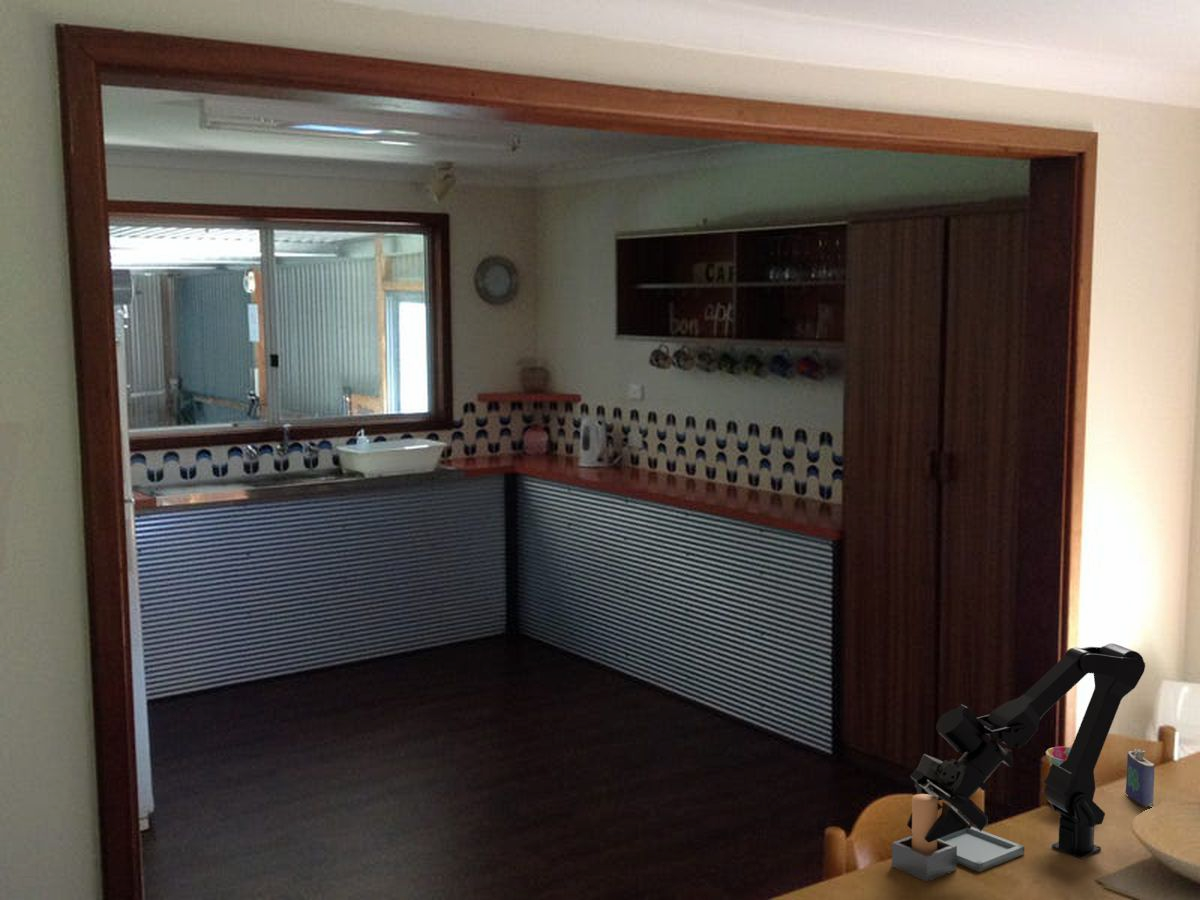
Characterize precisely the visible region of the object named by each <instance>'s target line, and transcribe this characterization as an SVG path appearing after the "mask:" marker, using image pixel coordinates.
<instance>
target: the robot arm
mask: <svg viewBox="0 0 1200 900" xmlns="http://www.w3.org/2000/svg"><path fill="white" fill-rule="evenodd" d="M1145 670H1146V662H1145V661H1144V657H1143V656H1142V655H1141V654H1140V653H1139V652H1138V651H1135V650H1132V649H1130V648H1127V647H1124V646H1122V645H1119V644H1116V643H1107V644H1105V645H1104V646H1103V645H1102V646H1099V647H1098V646H1087V647H1077V646H1076V647H1072V648H1068V649H1067V650H1066V652H1065V653H1064V656H1063V657H1062V658H1060V660H1059V661H1057V662H1056V663H1055V664H1054V665H1053V667H1051V668H1050V669H1049V670H1048V671H1047V672H1046V673H1045V674H1044V675H1043V676H1041V677H1040V678H1039V679H1038V680H1037V681H1036V682H1035V683H1034V684H1033V685H1032V686H1031V687H1030V688H1029V689H1028V690H1027V691H1026V692H1025V693H1024V694H1022V695H1021V696H1018V698H1014V699H1011V700H1009V701H1006V702H1004V703H1003V704H1001V705H999V706H998V707H996V708H995V709H994V710H992V711H991V712H990V713H989V714H986V715H982V716H978V717H976V715H974V714H973V712H972V711H971V709H970V708H969V707H967V706H966V705H963V704H960V705H959V706H958V707H957V708H952V709H950V710H949V711H946V712H945V713H943V714H941V716H940V717H939V718H938V720H937V722H936V725H935V726H936V727H935V729H936V731H937V733H938V734H939V735H940V736H941V737H942V738H944V739H943V740H946V742H948V744H949V745H950V746H951V747H952V748H953V749H954V750H955V751H956V752H958V753H961V754H963V753H964V754H963V755H962V756H961V757H960V758H959V759H958V760H957V759H955V757H954V758H951V759H950V760H949V761H948V760H946V759H945V760H943V761H942V760H940V759H938V758H936V757H933V756H930V755H928V754H926V753H923V755H922V756H921V759H920V761H919V764H918V766H917V768H915V769H914V771H912V772H911V774H910V775H909V778H911V779H912V780H913V781H914V786H915V788H916V795H917V794H929V795H933V796H935V797H937V798H938V811H939V810H940V811H941V814H940V815H939V816H938V819H937V821H936V822H935V823H934V825H933V826H932V827H931V829H930V830H929V831H928V833H927V835H926V836H925V840H926V841H927V842H932V841H934V840H937V839H939V838H941V837H944V836H946V835H949V834H951V833H954V832H957V831H960V830H963V829H966V828H968V829H970V828H971V827H974V828H977V829H978V830H979V831H984V829H985V828H986V826H987V825H988V824H989V823H988V822H989V818H988V817H989V816H988V815H987V814H986V813H985V812H984V811H983V810H982V809H981V808H980V807H979V806H978V805H977V804H976V803H975V802H974V801H973V800H971V798H972V797H973V796H974V795H975V794H977V791H979V789H980V790H982V791H983V792H984V791H985V790H987V787H988V785H986V783H985V782H986V781H987V780H988V779H989V778H990V777H991V775H992V774H993V773H994V772H995V770H997V768H998V767H999V766H1000V765H1001V764H1002V763H1003V764H1005V765H1006V766H1008V767H1010V768H1012V767H1013V766H1014V760H1013V751H1012V750H1010V749H1009V748H1006V747H1004V748H1003V747H1002V746H1001V745H1000V744H999V743H998V742H1000V743H1003V744H1005V746H1008V747H1010V748H1013V749H1015V748H1016V749H1021V748H1022V747H1023V746H1025V745H1027V744H1028V743H1029V741H1030V740H1031V738H1032V737H1033V736H1034V735H1035V734H1036V733H1037V731H1038V729H1039V726H1040V723H1041V722H1040V721H1041V719H1042V718H1043V716H1044V715H1045V714H1046V713H1047V712H1048V711H1049V710H1050V709H1051V708H1052V707H1053V706H1054V705H1055V704H1057V702H1059V701H1060V700H1061V699H1062V698H1063V697H1064V696H1065V695H1066V694H1067V693H1068V692H1069V691H1071V689H1073V688H1074V687H1075V686H1076V684H1078V683H1079V682H1080V681H1081V680H1082V679H1083V678H1085V677H1086V675H1087V674H1093V679H1094V688H1093V689H1094V690H1093V691H1092V694H1091V697H1090V700H1089V701H1088V705H1087V707H1086V710H1085V712H1084V715H1083V717H1082V720H1081V723H1080V726H1079V727H1078V729H1077V733H1076V736H1075V737H1074V740H1073V743H1072V745H1071V747H1072V748H1071V750H1070V753H1069V755H1068V758H1067V759H1066V760H1065V761H1064V762H1063V763H1062V764H1060V765H1059V766H1057V765H1056V764H1052V765H1051V766H1050V767H1049V770H1048V771H1049V772H1048V774H1047V776H1046V779H1044V781H1043V784H1044V785H1045V786H1044V794H1045V797H1046V799H1048V800H1047V801H1048V803H1050V805H1051V808H1052V811H1054V812H1057V813H1058V814H1060V817H1059V826H1058V841H1057V842H1055V843H1053V844H1051V848H1052V849H1055V850H1057V851H1060V852H1062V853H1065V854H1068V855H1070V856H1073V857H1077V858H1079V859H1083V858H1085V857H1086V858H1087V857H1088V856H1091V855H1093V854H1096V853H1098V852H1100V851H1101V850H1102V847H1100V846H1099V845H1096V844H1094V843H1095V827H1096V826H1097V825H1102V824H1103V821H1104V819H1105V815H1106V813H1105V811H1103V810H1102V809H1101V807H1099V806H1098V804H1097V803H1095V802H1094V798H1095V793H1096V780H1095V768H1096V765H1097V763H1098V761H1099V758H1100V755H1101V753H1102V750H1103V748H1104V745H1105V743H1106V740H1107V737H1108V735H1109V732H1110V730H1111V728H1112V725H1113V723H1114V720H1115V718H1116V715H1117V713H1118V710H1119V706H1120V704H1121V701H1122V700H1123V698H1124V697H1126V696H1127V695H1128V694H1129V693H1130V692H1132V691H1133V690H1134V689H1135V688H1136V687H1137V685H1138V684H1139V682H1140V680H1141V678H1142V676H1143V675H1144V673H1145ZM986 736H987V737H989V738H991V739H987V738H986ZM942 800H943V801H942ZM939 801H942V804H940V803H939ZM944 801H945V802H944ZM946 802H947V803H948V804H949V805H948V804H947V803H946ZM950 805H951V806H950ZM970 824H971V825H970ZM906 826H907V828H909V829H910V830H912V812H911V813H910V816H909V819H908V821H907V823H906Z"/></svg>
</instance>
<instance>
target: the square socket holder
mask: <svg viewBox="0 0 1200 900" xmlns="http://www.w3.org/2000/svg"><path fill="white" fill-rule="evenodd" d="M957 864H958V863H957V846H956V845H953V844H951V843H948V842H946V841H943V840H941V839H937V851H935V852H932V853H929V854H925V853H922V852H920V851H917V850H915V849H912V835H910V836H907V837H904V838H901V839H898V840H896V841H893V842H892V843H891V867H892V866H893V867H892V868H894V867H895V868H894V869H896V868H898V869H897V870H899V869H900V870H899V871H901V870H902V871H901V872H903V871H904V872H903V873H905V872H906V874H908V873H909V874H908V875H910V874H911V875H910V876H912V875H913V876H912V877H914V878H918V879H920V880H922V881H924V882H926V883H927V882H930V881H932V880H935V879H938V878H940V877H943V876H945V875H944V874H946V875H947V873H948V874H950V873H949V872H951V873H953V872H955V871H954V870H956V871H957ZM952 871H953V872H952ZM942 875H943V876H942Z"/></svg>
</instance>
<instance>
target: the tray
mask: <svg viewBox="0 0 1200 900" xmlns="http://www.w3.org/2000/svg"><path fill="white" fill-rule="evenodd" d="M939 839H941V840H943V841H946V842H948V843H951V844H953V845H956V846H957V864H958V863H959V864H958V865H960V864H961V865H960V866H963V865H964V866H963V867H965V866H966V867H965V868H967V867H968V868H967V869H970V868H971V869H970V870H972V869H974V870H973V871H975V870H976V871H975V872H977V871H978V873H981V872H983V871H982V870H984V871H986V870H989V869H991V868H994V867H996V866H998V865H1001V864H1003V863H1006V862H1008V861H1011V860H1014V859H1015V858H1019V857H1021V856H1023V855H1025V846H1024V845H1021V844H1018V843H1017V842H1015V841H1014V842H1013V841H1011V840H1008V839H1006V838H1004V837H1000V836H998V835H995V834H992V833H990V832H987V831H984V830H982V831H979V830H978V829H977V828H975V827H974V826H971V828H970V829H968V828H966V829H963V830H960V831H957V832H954V833H951V834H949V835H946V836H944V837H941V838H939ZM993 866H994V867H993ZM988 868H989V869H988ZM985 869H986V870H985ZM980 871H981V872H980Z"/></svg>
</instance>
